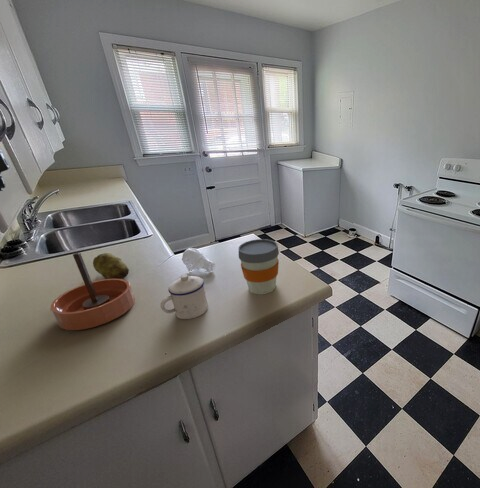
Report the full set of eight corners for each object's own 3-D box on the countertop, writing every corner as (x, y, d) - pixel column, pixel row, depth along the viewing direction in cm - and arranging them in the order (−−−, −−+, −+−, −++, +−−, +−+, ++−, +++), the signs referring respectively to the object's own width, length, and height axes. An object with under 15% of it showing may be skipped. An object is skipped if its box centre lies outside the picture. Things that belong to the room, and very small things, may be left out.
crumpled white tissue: (191, 244, 102) (218, 250, 100) (193, 263, 106) (220, 270, 103) (178, 250, 97) (206, 257, 94) (181, 271, 100) (209, 278, 98)
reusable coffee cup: (261, 274, 99) (257, 236, 93) (288, 283, 93) (286, 243, 87) (235, 290, 89) (228, 249, 83) (264, 301, 83) (259, 258, 77)
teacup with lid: (200, 297, 85) (192, 265, 81) (214, 309, 80) (208, 275, 75) (159, 316, 77) (148, 281, 72) (172, 330, 71) (162, 293, 67)
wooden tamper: (81, 317, 75) (56, 260, 68) (90, 305, 80) (68, 250, 73) (107, 313, 77) (85, 256, 70) (114, 301, 82) (94, 247, 75)
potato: (104, 287, 91) (96, 266, 88) (95, 274, 99) (88, 254, 96) (132, 277, 97) (126, 257, 94) (122, 266, 105) (116, 247, 101)
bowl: (40, 331, 71) (30, 312, 69) (96, 293, 87) (90, 277, 85) (103, 333, 70) (96, 315, 68) (148, 295, 86) (143, 279, 84)
